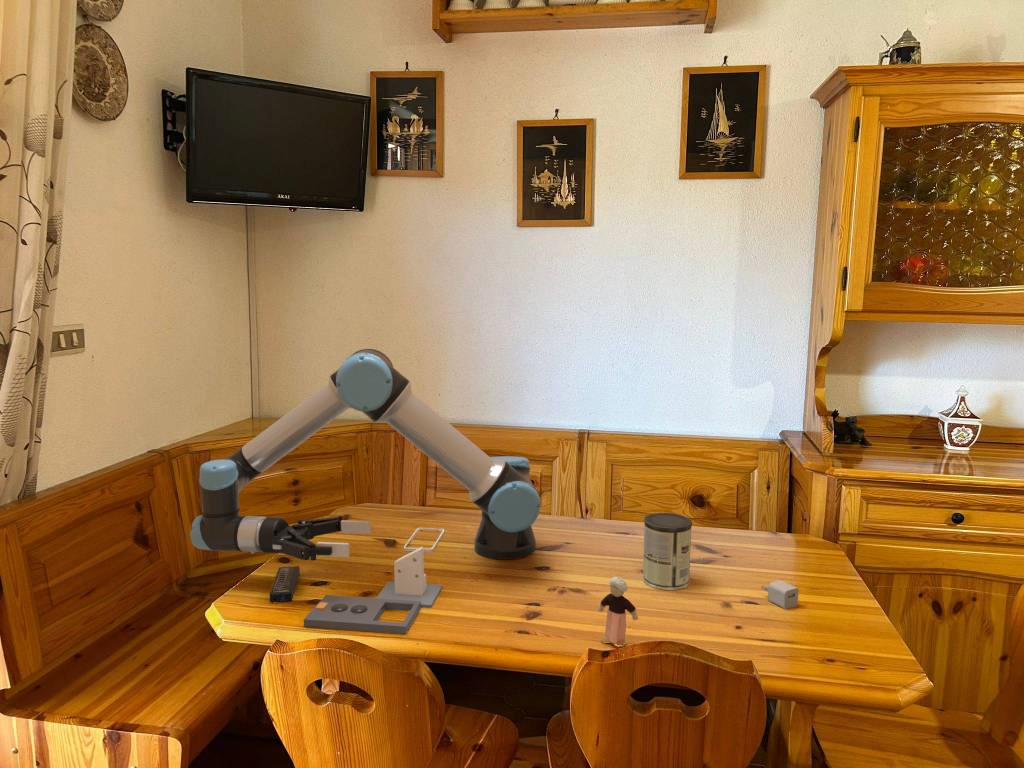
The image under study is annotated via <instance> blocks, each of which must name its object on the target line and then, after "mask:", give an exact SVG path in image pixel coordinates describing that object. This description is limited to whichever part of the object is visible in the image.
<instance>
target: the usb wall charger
mask: <svg viewBox="0 0 1024 768" xmlns="http://www.w3.org/2000/svg"><path fill="white" fill-rule="evenodd" d="M799 589H800V588H798V587H796V586H794V585H791V584H790V583H787V582H785V581H783V580H776V581H773V582H770V583H768V587H766V586H764V585H761V590H764V591H765V592H767V601H768V602H771V603H772V604H774V605H776V606H778V607H781V608H782V609H784V610H788V609H791V608H794V607H797V605H798V604H799V591H800V590H799Z"/></svg>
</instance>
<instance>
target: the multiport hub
mask: <svg viewBox="0 0 1024 768" xmlns="http://www.w3.org/2000/svg"><path fill="white" fill-rule="evenodd" d="M299 578H300V566H299V565H296V566H281V567H278V570H277V572H276V574H275V578H274V580H273V583H272V586H271V588H270V591H269V603H270V602H272V603H271V604H274V603H273V602H282V603H291V602H293V600H292V599H294V595H295V593H296V588H297V585H298V582H299Z"/></svg>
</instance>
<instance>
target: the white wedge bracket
mask: <svg viewBox="0 0 1024 768" xmlns="http://www.w3.org/2000/svg"><path fill="white" fill-rule="evenodd" d="M418 548H419V549H417V550H415V551H413V552H409V553H407V554H405V555H403V556H402V557H398V558H397V559H396V560H395V561H394V564H393V565H394V566H393V567H394V582H395V594H406V595H420V596H422V594H423V593H424V591H425V589H426V584H427V573H425V572H424V571H425V570H424V569H425V568H424V565H425V564H424V563H425V562H424V559H425V558H424V557H425V556H424V555H425V554H424V552H423V548H424V546H420V547H418Z"/></svg>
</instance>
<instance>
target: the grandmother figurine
mask: <svg viewBox="0 0 1024 768" xmlns="http://www.w3.org/2000/svg"><path fill="white" fill-rule="evenodd" d="M609 586H610V589H609V590H610V593H608V594H606V596H605V597H603V599H602V600H600V604H599V606H598V608H597V611H598V612H600V613H603V612H604V609H605V608H606V607H608V608H607V611H606V622H605V634H604V635H605V636H603V637H602V638H601V639H600V642H601V641H603V642H611V643H610V644H613V645H614V644H617V645H622V646H619V647H622V648H624V647H625V646H626V643H625V642H626V640H625V639H626V632H627V613H626V611H627V612H628V613H629V614H630V615H631V617H632V618H631V619H632V620H633V621H637V620H638V619H639V616H638V614H637V611H636V610H637V608H636V606H635V605H634V604H633V603H632V602H631V601H630V600H629V599H627V597H625V596H624V594H625V592H627V591H628V589H630V588H629V586H628V584H627V582H626V581H625V580H624V579H623V578H622V577H621V576H613V577H611V578H610V580H609ZM624 643H625V645H624ZM623 646H624V647H623ZM619 647H618V648H619Z"/></svg>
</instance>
